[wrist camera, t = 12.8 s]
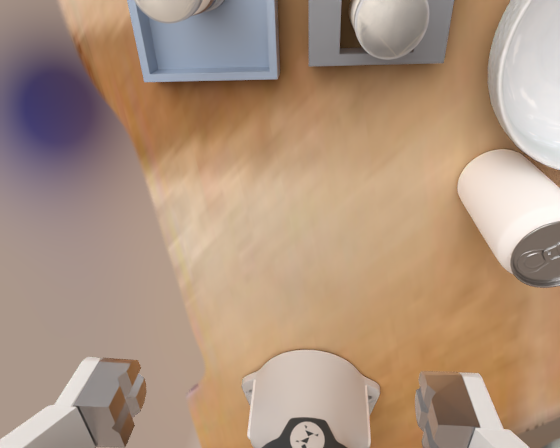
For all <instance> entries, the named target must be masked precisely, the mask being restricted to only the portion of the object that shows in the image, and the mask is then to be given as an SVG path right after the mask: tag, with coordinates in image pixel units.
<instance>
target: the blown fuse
mask: <svg viewBox="0 0 560 448" xmlns="http://www.w3.org/2000/svg"><path fill="white" fill-rule="evenodd" d="M134 1H135V3H136V4H137V6H138V7H139V8H140V9H141V10H142V12H143V13H145V14H146V15H147V16H148V17H150V18H151V19H153V20H155V21H158V22H161V23H167V24H171V23H177V22H180V21H183V20H185V19H188V18H189V17H191V16H194V15H197V14H200V13H203V12H207V11H211V10H214V9H216V8H218V7H219V6H220V5H222V4H223V3H224V1H225V0H134Z"/></svg>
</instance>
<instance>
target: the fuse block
mask: <svg viewBox="0 0 560 448" xmlns="http://www.w3.org/2000/svg"><path fill="white" fill-rule="evenodd" d="M453 4H454V0H350V3H349V10H348V14H349V20H350V23H351V25H352V27H353V28H354V30H355V34H356V36H357V39H358V41H359V43H360V44H361V46H362V47H359V48H340V25H341V0H309V66H348V65H388V64H429V63H444V58H445V52H446V46H447V40H448V34H449V28H450V22H451V16H452V10H453Z"/></svg>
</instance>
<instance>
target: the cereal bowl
mask: <svg viewBox="0 0 560 448" xmlns="http://www.w3.org/2000/svg"><path fill="white" fill-rule="evenodd" d="M487 83H488V89H489V96H490V99H491V105H492V107H493V110H494V113H495V115H496V117H497V119H498V122H499V124H500V125H501V126H502V128H503V130H504V131H505V133H506V134H507V135H508V136H509V138H510V139H511V140H512V141H513V142H514V144H515V145H516V146H517V147H518V148H519V149H520V150H522V151H523V152H524V153H526V154H527V155H528V156H530V157H531V158H533V159H534V160H536V161H538V162H540V163H542V164H544V165H546V166H548V167H551V168H554V169H557V170H560V0H510V3H509V5H508V6H507V8H506V11H505V12H504V13H503V15H502V18H501V20H500V22H499V25H498V28H497V29H496V32H495V36H494V38H493V43H492V45H491V51H490V54H489V60H488V82H487Z"/></svg>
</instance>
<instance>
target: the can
mask: <svg viewBox="0 0 560 448" xmlns="http://www.w3.org/2000/svg"><path fill="white" fill-rule="evenodd" d="M457 191H458V195H459V197H460V199H461V201H462V203H463V204H464V206H465V208H466V209H467V211H468V213H469V214H470V216H471V218H472V219H473V221H474V223H475V224H476V226H477V228H478V229H479V231H480V233H481V234H482V236H483V237H484V239H485V241H486V242H487V244H488V246H489V247H490V249H491V250H492V252H493V254H494V255H495V257H496V258H497V260H498V261H499V263H500V264H501V265H502V266H503V268H504V269H506V270H507V271H508V272H510V273H511V274H513V275H515V277H516V278H517V279H518V280H520V281H521V282H523V283H524V284H527V285H529V286H533V287H540V288H548V287H556V286H560V188H559V187H558V186H557V185H556V184H555V183H554V182H553V181H551V180H550V179H549V178H548V177H547V176H546V175H545V174H544V173H543V172H541V171H540V170H539V169H538V168H537V167H536V166H535V165H534V164H533V163H531V162H530V161H529V160H528V159H527V158H526V157H524V156H523V155H522V154H520V153H518V152H516V151H513V150H508V149H498V150H492V151H489V152H486V153H483V154H481V155H479V156H478V157H476V158H475V159H473V160H472V161H471V162H470V163H469V164H468V165H467V166H466V167H465V168H464V170H463V171H462V173H461V175H460V177H459V180H458V186H457Z"/></svg>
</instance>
